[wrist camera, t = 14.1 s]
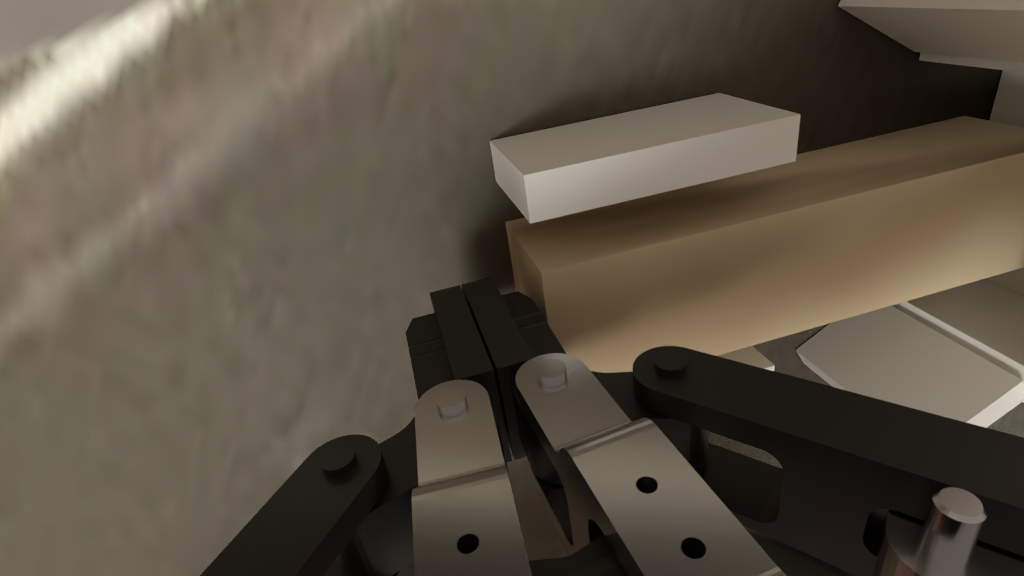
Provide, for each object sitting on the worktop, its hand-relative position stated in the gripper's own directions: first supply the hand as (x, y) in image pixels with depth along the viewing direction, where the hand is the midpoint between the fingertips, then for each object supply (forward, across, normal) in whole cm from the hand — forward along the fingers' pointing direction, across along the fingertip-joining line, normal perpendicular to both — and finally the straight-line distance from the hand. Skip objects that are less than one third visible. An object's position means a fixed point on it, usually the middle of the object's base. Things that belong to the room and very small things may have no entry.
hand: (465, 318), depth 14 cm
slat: (+2, -9, 0) cm, 9 cm away
